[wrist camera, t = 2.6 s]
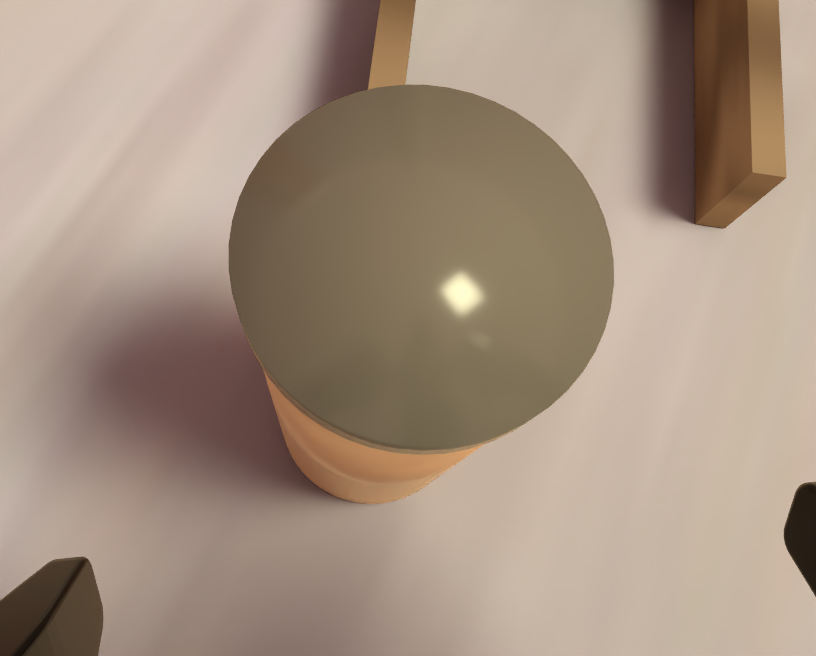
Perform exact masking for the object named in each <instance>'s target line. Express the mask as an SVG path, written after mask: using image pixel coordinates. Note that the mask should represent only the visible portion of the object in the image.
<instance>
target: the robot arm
mask: <svg viewBox="0 0 816 656" xmlns="http://www.w3.org/2000/svg"><path fill="white" fill-rule="evenodd" d="M784 541H785V545H786V547H787V550H788V552H789V554H790V555H791V557H792V559H793V560H794V562H795V564H796V565H797V567H798V568H799V570H800V572H801V573H802V575H803V577H804V578H805V580H806V582H807V583H808V585H809V586H810V588H811V590H812V591H813V593H814V595H815V596H816V482H809V483H804V484H802V485H800V486H799V487H798V489H797V490H796V492H795V495H794V499H793V502H792V505H791V508H790V511H789V514H788V517H787V521H786V524H785V527H784ZM102 629H103V607H102V602H101V599H100V595H99V591H98V587H97V584H96V580H95V576H94V572H93V569H92V565H91V563H90V561H89V560H88V559H87V558H85V557H74V558H64V559H56V560H53V561H51V562H49V563H47V564H46V565H45V566H43V567H42V568H41V569H40V570H38V571H37V572H36V573H35V574H33V575H32V576H31V577H29V578H28V579H27V580H26V581H24V582H23V583H22V584H20V585H19V586H18V587H17V588H15V589H14V590H13V591H12V592H10V593H9V594H8V595H6V596H5V597H4V598H3V599H1V600H0V656H98V652H99V647H100V641H101V635H102Z"/></svg>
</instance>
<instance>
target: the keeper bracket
mask: <svg viewBox="0 0 816 656" xmlns="http://www.w3.org/2000/svg"><path fill="white" fill-rule="evenodd" d="M415 2H416V0H380V7H379V14H378V21H377V28H376V35H375V42H374V49H373V56H372V63H371V70H370V77H369V84H368V90H369V89H373V88H377V87H385V86H395V85H405V82H406V74H407V66H408V58H409V50H410V42H411V34H412V26H413V18H414V10H415ZM694 82H695V224H699V225H706V226H713V227H719V228H726V227H727V226H728V225H729V224H731V223H732V222H733V221H734V220H735V219H737V218H738V217H739V216H740V215H741V214H743V213H744V212H745V211H746V210H748V209H749V208H750V207H751V206H752V205H754V204H755V203H756V202H757V201H758V200H760V199H761V198H762V197H763V196H765V195H766V194H767V193H768V192H769V191H771V190H772V189H773V188H774V187H775V186H777V185H778V184H779V183H780V182H782V181H783V180H784V179H785V178H786V159H785V136H784V114H783V91H782V68H781V46H780V23H779V1H778V0H694Z"/></svg>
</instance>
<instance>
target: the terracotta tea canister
mask: <svg viewBox="0 0 816 656" xmlns="http://www.w3.org/2000/svg"><path fill="white" fill-rule="evenodd" d="M229 274H230V281H231V288H232V294H233V298H234V301H235V304H236V308H237V311H238V315H239V318H240V321H241V324H242V327H243V330H244V333H245V335H246V338H247V340H248V342H249V344H250V347H251V349H252V351H253V353H254V355H255V357H256V359H257V360H258V362H259V364H260V365H261V367H262V368H263V371H264V374H265V377H266V380H267V384H268V387H269V390H270V393H271V397H272V400H273V403H274V407H275V410H276V413H277V416H278V420H279V423H280V426H281V430H282V433H283V436H284V439H285V443H286V446H287V448H288V450H289V452H290V454H291V456H292V458H293V460H294V461H295V463H296V464H297V466H298V467H299V468H300V470H301V471H302V472H303V473H304V474H305V476H306V477H308V478H309V479H310V480H311V481H312V482H313V483H314V484H315V485H317V486H318V487H320V488H321V489H323V490H324V491H326V492H328V493H330V494H332V495H334V496H336V497H339V498H341V499H344V500H347V501H352V502H357V503H367V504H376V503H386V502H391V501H396V500H399V499H402V498H405V497H407V496H409V495H411V494H413V493H415V492H417V491H419V490H420V489H422V488H423V487H425V486H426V485H428V484H429V483H430V482H432V481H433V480H435V479H436V478H437V477H439V476H440V475H442V474H443V473H444V472H446V471H447V470H449V469H450V468H451V467H453V466H454V465H456V464H457V463H458V462H460V461H461V460H463V459H464V458H465V457H467V456H468V455H470V454H471V453H472V452H474V451H475V450H477V449H478V448H479V447H481V446H482V445H484V444H486V443H489V442H492V441H494V440H496V439H498V438H500V437H502V436H504V435H506V434H508V433H510V432H513V431H514V430H516V429H517V428H519V427H520V426H522V425H523V424H525V423H526V422H528V421H529V420H531V419H532V418H534V417H535V416H537V415H538V414H540V413H541V412H542V411H544V410H545V409H547V408H548V407H550V406H551V405H552V404H553V403H554V402H555V401H556V400H557V399H558V398H560V397H561V396H562V395H563V394H564V393H565V392H566V391H567V390H568V389H569V388H570V387H571V385H572V384H573V383H574V382H575V381H576V379H577V378H578V377H579V376H580V375H581V373H582V372H583V371H584V369H585V367H586V366H587V364H588V363H589V361H590V359H591V358H592V356H593V354H594V353H595V351H596V349H597V346H598V344H599V342H600V339H601V337H602V335H603V332H604V330H605V327H606V323H607V319H608V316H609V312H610V308H611V302H612V294H613V286H614V267H613V255H612V248H611V241H610V236H609V233H608V229H607V226H606V222H605V219H604V215H603V213H602V211H601V208H600V206H599V204H598V201H597V199H596V197H595V194H594V193H593V191H592V189H591V188H590V186H589V184H588V182H587V181H586V179H585V177H584V176H583V174H582V173H581V171H580V170H579V169H578V168H577V166H576V165H575V164H574V162H573V161H572V160H571V158H570V157H569V156H568V155H567V154H566V153H565V152H564V151H563V150H562V149H561V147H560V146H559V145H558V144H557V143H556V142H555V141H554V140H553V139H552V138H550V137H549V136H548V135H547V134H546V133H544V132H543V131H542V130H541V129H539V128H538V127H537V126H536V125H535V124H533V123H531V122H530V121H528V120H527V119H525V118H524V117H522V116H521V115H519V114H517V113H516V112H514V111H512V110H510V109H508V108H506V107H504V106H502V105H500V104H498V103H496V102H494V101H491V100H489V99H486V98H483V97H480V96H478V95H475V94H472V93H468V92H464V91H460V90H456V89H451V88H446V87H438V86H430V85H395V86H385V87H377V88H373V89H369V90H364V91H360V92H356V93H353V94H350V95H347V96H345V97H342V98H339V99H336V100H334V101H332V102H330V103H328V104H326V105H324V106H322V107H320V108H318V109H316V110H314V111H312V112H311V113H309V114H308V115H306V116H305V117H303V118H302V119H300V120H299V121H297V122H296V123H295V124H293V125H292V126H291V127H290V128H289V129H288V130H287V131H285V132H284V133H283V134H282V135H281V136H280V137H279V138H278V139H276V141H275V142H274V143H273V144H272V145H271V146H270V148H269V149H268V150H267V151H266V152H265V153H264V155H263V156H262V157H261V158H260V160H259V162H258V163H257V165H256V166H255V168H254V169H253V171H252V172H251V174H250V176H249V177H248V180H247V182H246V184H245V186H244V188H243V190H242V193H241V195H240V197H239V200H238V203H237V207H236V210H235V213H234V217H233V220H232V226H231V233H230V240H229Z"/></svg>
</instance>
